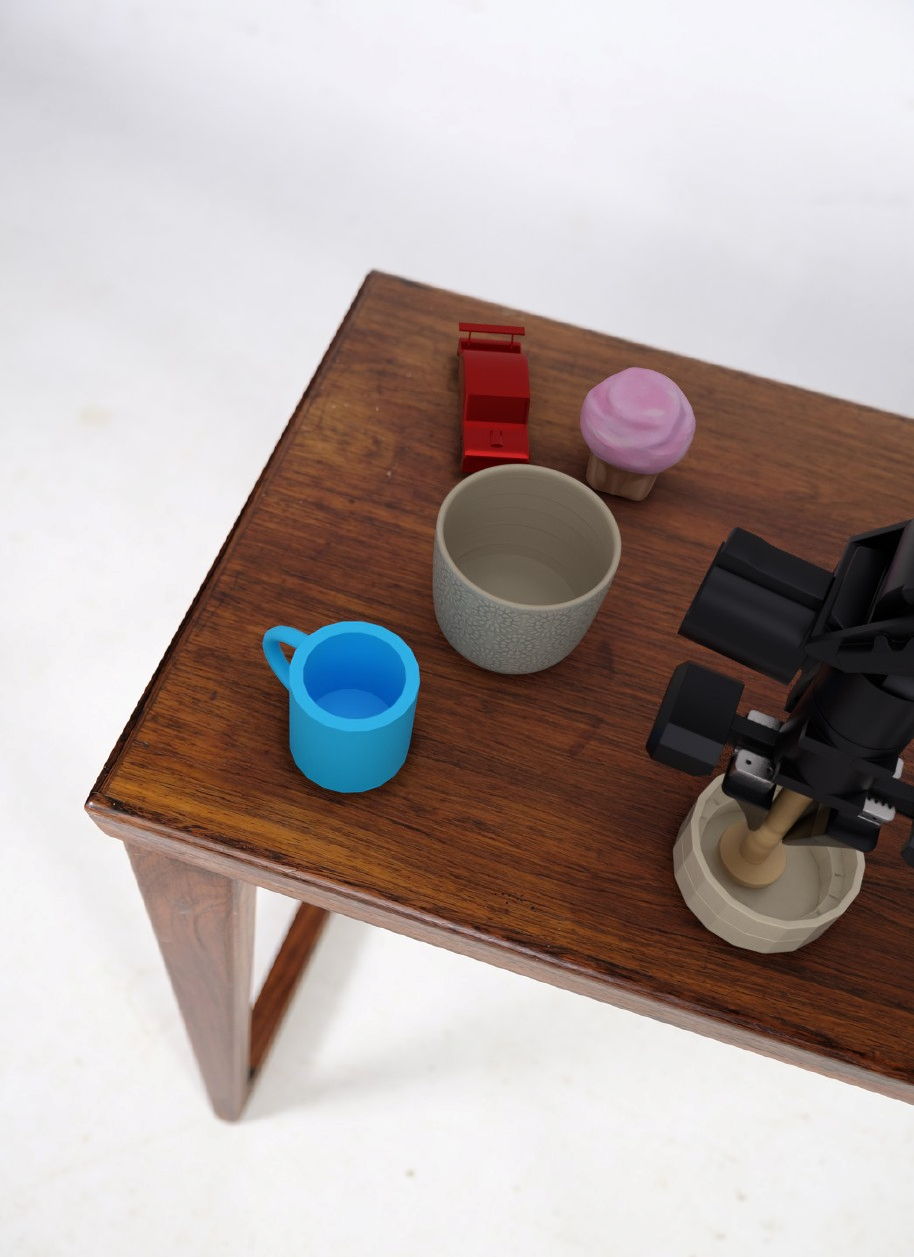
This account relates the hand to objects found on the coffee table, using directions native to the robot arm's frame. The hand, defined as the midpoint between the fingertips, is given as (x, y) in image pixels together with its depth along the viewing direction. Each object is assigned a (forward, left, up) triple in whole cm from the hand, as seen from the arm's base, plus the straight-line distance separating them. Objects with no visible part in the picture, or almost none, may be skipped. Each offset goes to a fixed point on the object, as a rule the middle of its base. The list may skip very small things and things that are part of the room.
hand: (769, 830), depth 74 cm
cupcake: (+18, -29, -6) cm, 35 cm away
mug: (+29, +2, -6) cm, 30 cm away
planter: (+21, -11, -6) cm, 25 cm away
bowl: (-1, 0, -6) cm, 6 cm away
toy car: (+30, -30, -6) cm, 43 cm away
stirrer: (0, 0, -4) cm, 4 cm away
